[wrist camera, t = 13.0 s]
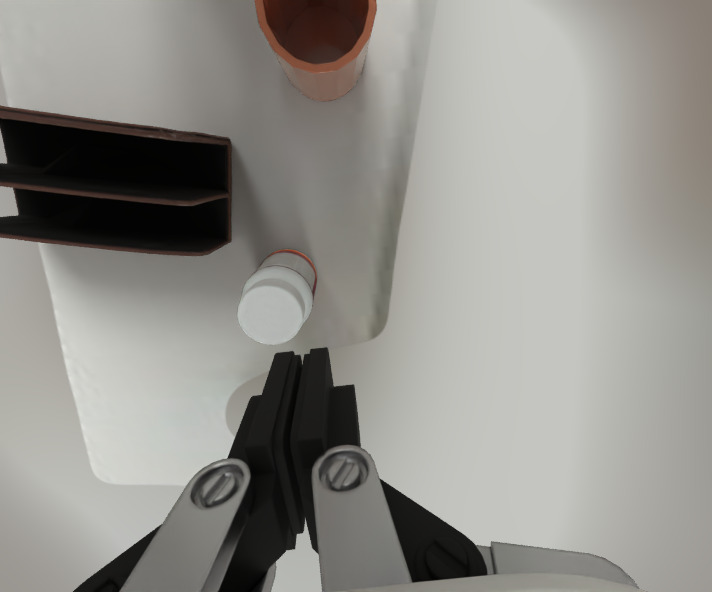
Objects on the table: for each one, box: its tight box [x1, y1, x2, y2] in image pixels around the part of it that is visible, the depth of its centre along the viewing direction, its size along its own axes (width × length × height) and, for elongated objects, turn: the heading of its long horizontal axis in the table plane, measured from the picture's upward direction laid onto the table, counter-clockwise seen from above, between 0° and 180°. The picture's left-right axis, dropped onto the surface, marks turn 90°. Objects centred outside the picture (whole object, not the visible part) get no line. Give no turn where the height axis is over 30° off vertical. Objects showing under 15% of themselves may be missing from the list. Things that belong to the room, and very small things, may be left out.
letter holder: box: [0, 106, 232, 256], centre depth 26 cm, size 10×20×14 cm, turn 83°
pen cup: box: [254, 0, 377, 101], centre depth 25 cm, size 7×7×10 cm
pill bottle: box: [237, 249, 317, 345], centre depth 32 cm, size 6×6×11 cm
